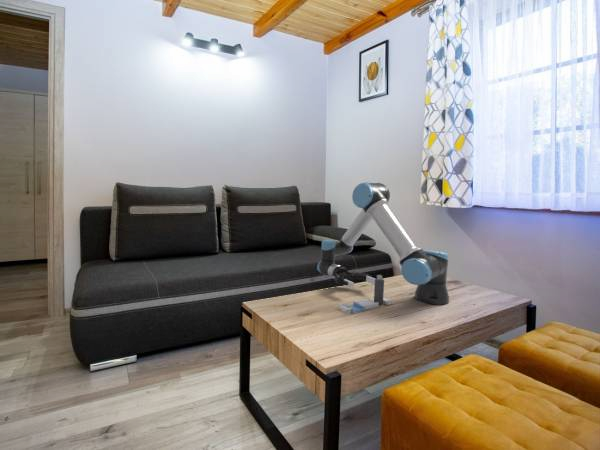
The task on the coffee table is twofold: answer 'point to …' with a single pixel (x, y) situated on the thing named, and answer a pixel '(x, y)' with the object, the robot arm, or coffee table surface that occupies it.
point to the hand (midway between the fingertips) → (364, 283)
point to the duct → (362, 305)
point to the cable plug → (379, 290)
